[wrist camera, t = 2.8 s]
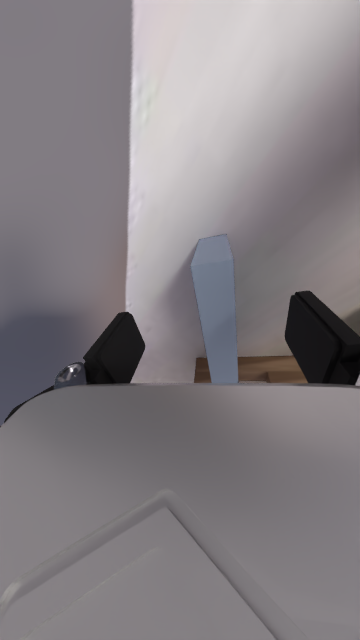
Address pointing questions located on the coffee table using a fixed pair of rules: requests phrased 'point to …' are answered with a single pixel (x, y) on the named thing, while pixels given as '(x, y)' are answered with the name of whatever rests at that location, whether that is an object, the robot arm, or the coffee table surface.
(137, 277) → the coffee table surface
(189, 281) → the coffee table surface
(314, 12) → the coffee table surface
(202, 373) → the walnut rail
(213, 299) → the slate plate
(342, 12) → the coffee table surface
